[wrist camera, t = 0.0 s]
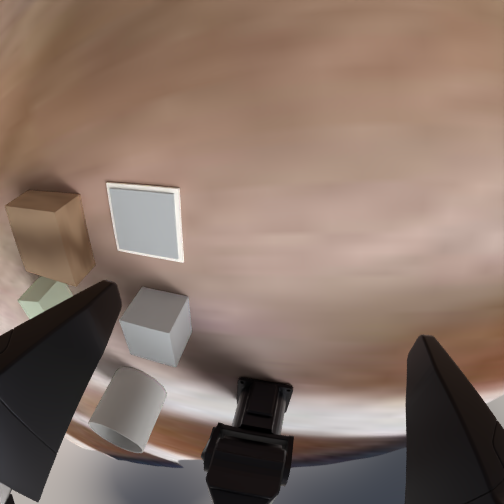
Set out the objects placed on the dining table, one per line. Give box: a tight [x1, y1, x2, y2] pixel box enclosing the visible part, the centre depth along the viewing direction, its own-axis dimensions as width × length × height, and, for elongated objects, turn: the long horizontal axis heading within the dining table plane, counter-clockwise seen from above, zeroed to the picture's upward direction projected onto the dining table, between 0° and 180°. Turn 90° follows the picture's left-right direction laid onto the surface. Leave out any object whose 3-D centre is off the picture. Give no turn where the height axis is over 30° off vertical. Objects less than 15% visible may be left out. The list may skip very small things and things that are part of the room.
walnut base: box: [5, 190, 96, 287], centre depth 27 cm, size 8×8×4 cm
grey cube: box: [119, 287, 192, 367], centre depth 29 cm, size 5×5×5 cm
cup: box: [88, 367, 167, 453], centre depth 38 cm, size 8×8×10 cm
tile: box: [106, 182, 184, 262], centre depth 25 cm, size 7×7×1 cm
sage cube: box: [18, 276, 73, 319], centre depth 32 cm, size 5×5×5 cm
